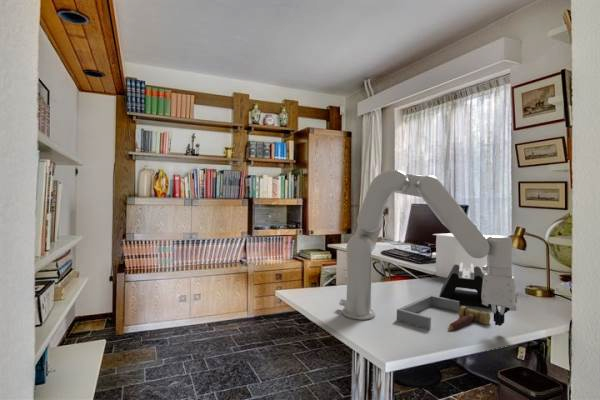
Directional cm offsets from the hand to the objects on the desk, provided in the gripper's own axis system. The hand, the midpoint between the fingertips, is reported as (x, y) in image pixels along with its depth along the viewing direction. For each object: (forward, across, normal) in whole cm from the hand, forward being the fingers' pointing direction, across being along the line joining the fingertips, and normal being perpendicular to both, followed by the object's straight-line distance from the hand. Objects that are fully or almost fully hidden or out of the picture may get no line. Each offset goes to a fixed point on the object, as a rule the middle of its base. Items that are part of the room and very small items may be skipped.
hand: (498, 324), depth 119 cm
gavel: (+4, -12, -1) cm, 12 cm away
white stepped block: (+4, -44, +93) cm, 103 cm away
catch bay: (+3, -25, 0) cm, 25 cm away
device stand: (+4, -23, +35) cm, 42 cm away
